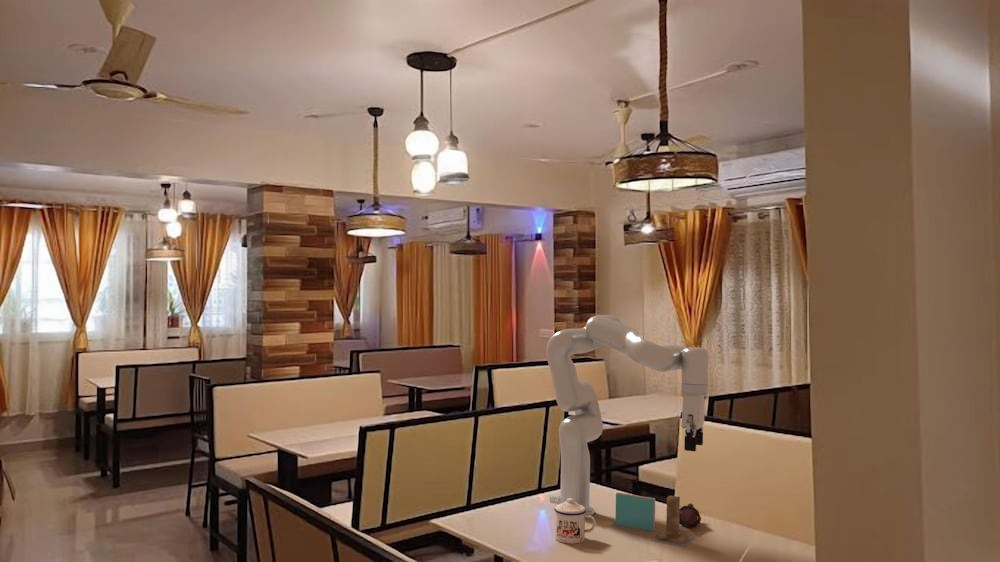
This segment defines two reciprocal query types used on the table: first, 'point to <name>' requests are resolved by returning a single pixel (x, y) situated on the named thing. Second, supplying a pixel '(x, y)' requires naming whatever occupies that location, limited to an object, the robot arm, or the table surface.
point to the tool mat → (672, 542)
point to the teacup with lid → (571, 522)
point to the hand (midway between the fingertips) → (693, 447)
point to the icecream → (689, 516)
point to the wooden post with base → (673, 522)
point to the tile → (635, 511)
